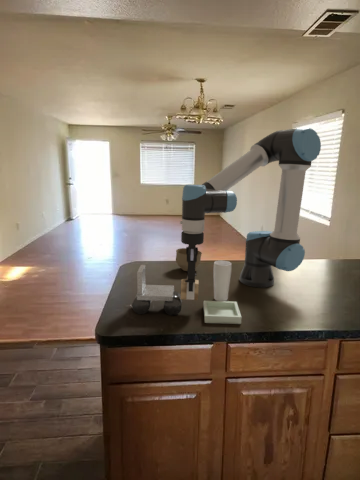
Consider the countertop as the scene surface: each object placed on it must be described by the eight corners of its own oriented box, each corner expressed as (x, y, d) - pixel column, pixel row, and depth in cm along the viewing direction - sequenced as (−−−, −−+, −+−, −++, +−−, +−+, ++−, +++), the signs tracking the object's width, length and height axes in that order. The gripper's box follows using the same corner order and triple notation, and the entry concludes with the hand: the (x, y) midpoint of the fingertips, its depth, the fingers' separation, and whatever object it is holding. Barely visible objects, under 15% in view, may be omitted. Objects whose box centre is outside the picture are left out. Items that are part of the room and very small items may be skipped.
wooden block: (197, 295, 113) (198, 279, 112) (197, 300, 109) (198, 284, 108) (180, 294, 113) (181, 279, 112) (180, 299, 109) (181, 283, 108)
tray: (236, 307, 116) (236, 301, 115) (241, 324, 104) (241, 317, 103) (203, 306, 116) (203, 300, 116) (204, 322, 104) (205, 315, 104)
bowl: (201, 274, 150) (202, 254, 148) (175, 274, 150) (175, 254, 148) (200, 266, 162) (201, 247, 160) (175, 265, 162) (176, 247, 160)
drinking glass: (218, 304, 118) (220, 266, 115) (208, 297, 124) (210, 261, 121) (233, 301, 121) (235, 264, 118) (222, 294, 127) (224, 259, 124)
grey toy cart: (181, 304, 117) (182, 265, 114) (180, 317, 108) (181, 274, 104) (136, 303, 118) (135, 263, 114) (131, 315, 108) (130, 272, 104)
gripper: (182, 226, 114) (180, 286, 119) (180, 236, 97) (178, 306, 103) (203, 226, 114) (200, 287, 119) (204, 237, 97) (201, 307, 103)
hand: (190, 296), depth 111 cm, fingers closed on wooden block, 4 cm apart
